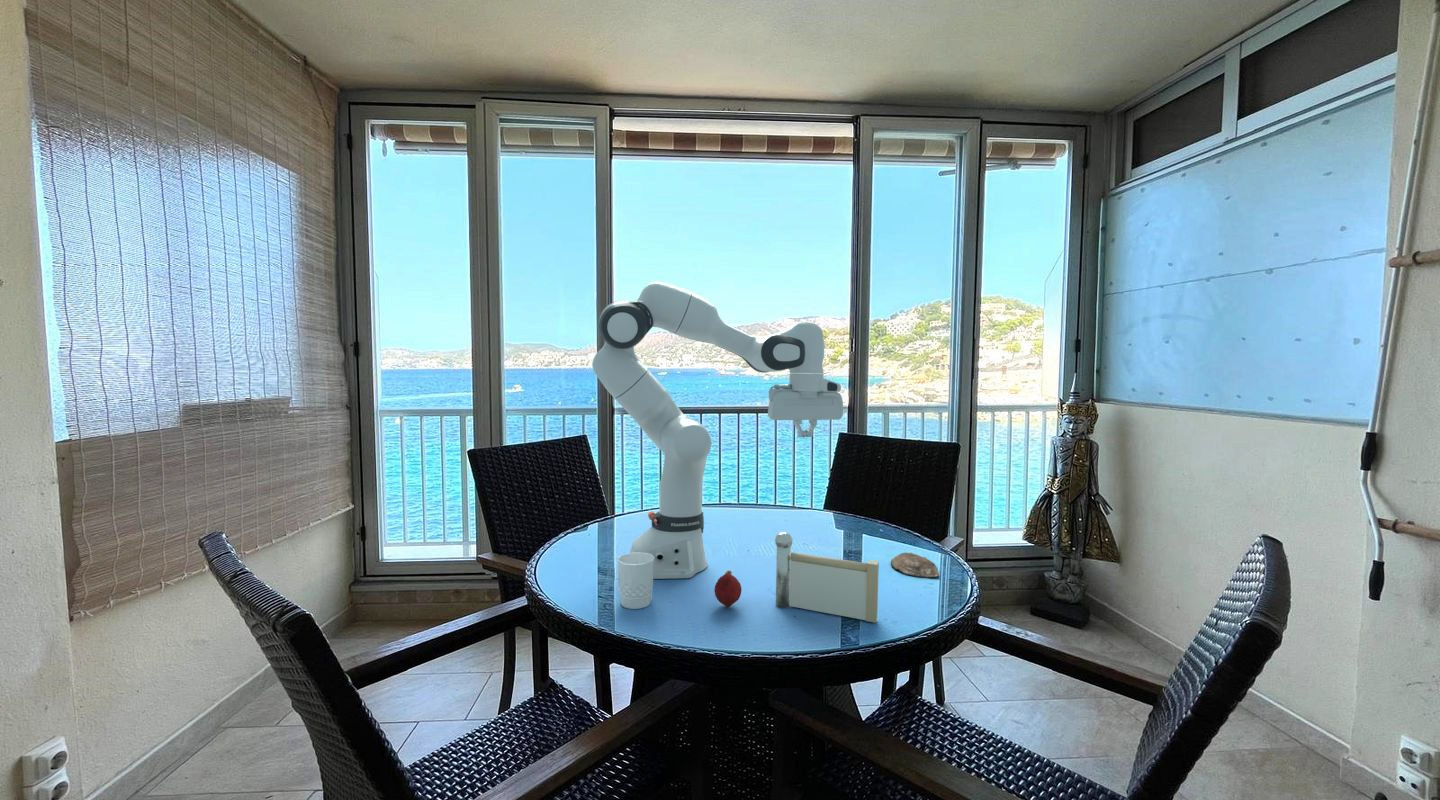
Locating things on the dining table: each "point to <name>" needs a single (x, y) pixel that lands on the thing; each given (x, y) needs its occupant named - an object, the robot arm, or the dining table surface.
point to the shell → (914, 565)
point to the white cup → (636, 579)
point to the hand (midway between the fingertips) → (805, 437)
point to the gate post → (783, 569)
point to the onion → (727, 589)
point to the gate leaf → (834, 586)
